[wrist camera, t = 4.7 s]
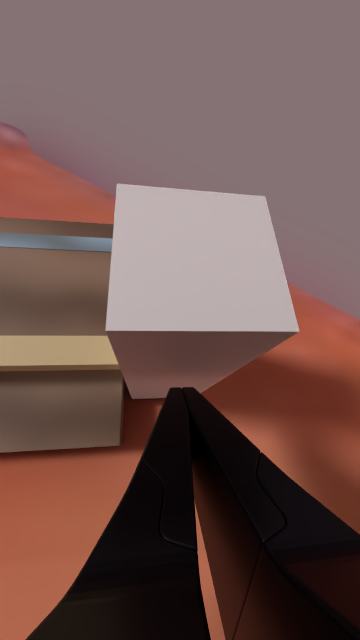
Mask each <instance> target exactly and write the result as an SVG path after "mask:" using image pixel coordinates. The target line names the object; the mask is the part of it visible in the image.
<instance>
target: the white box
mask: <svg viewBox="0 0 360 640" xmlns="http://www.w3.org/2000/svg"><path fill="white" fill-rule="evenodd" d="M105 331H106V333H107V336H0V371H57V370H118V369H121V372H122V374H123V377H124V380H125V382H126V385H127V387H128V390H129V392H130V395H131V397H132V399H148V398H166V396H167V393H168V391H169V389H170V388H171V387H181V388H183V387H194V388H195V389H196V390H197V391H198V392H199V393H202V392H203V391H205V390H206V389H208V388H210V387H211V386H213V385H214V384H216V383H218V382H219V381H221V380H222V379H224V378H226V377H227V376H229V375H230V374H232V373H234V372H235V371H237V370H238V369H240V368H242V367H243V366H245V365H246V364H248V363H250V362H251V361H253V360H255V359H256V358H258V357H259V356H261V355H263V354H264V353H266V352H267V351H269V350H271V349H272V348H274V347H275V346H277V345H279V344H280V343H282V342H283V341H285V340H287V339H288V338H290V337H291V336H293V335H295V334H296V333H298V332H299V328H298V324H297V320H296V316H295V312H294V308H293V304H292V301H291V297H290V293H289V289H288V285H287V281H286V277H285V273H284V269H283V265H282V261H281V258H280V253H279V249H278V245H277V241H276V238H275V234H274V230H273V226H272V222H271V218H270V214H269V210H268V206H267V202H266V198H265V197H264V196H253V195H242V194H230V193H219V192H207V191H196V190H184V189H171V188H161V187H150V186H138V185H126V184H117V190H116V203H115V215H114V228H113V241H112V253H111V266H110V279H109V291H108V304H107V317H106V329H105Z"/></svg>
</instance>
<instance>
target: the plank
mask: <svg viewBox="0 0 360 640" xmlns="http://www.w3.org/2000/svg"><path fill="white" fill-rule="evenodd" d="M113 228H114V225H113V224H97V223H81V222H66V221H50V220H34V219H19V218H3V217H0V336H107V333H106V331H105V329H106V317H107V304H108V291H109V279H110V266H111V253H112V241H113ZM124 392H125V380H124V377H123V374H122V372H121V369H118V370H57V371H0V453H3V452H20V451H37V450H54V449H71V448H88V447H105V446H120V445H121V444H122V440H123V416H124Z"/></svg>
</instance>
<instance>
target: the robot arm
mask: <svg viewBox="0 0 360 640" xmlns="http://www.w3.org/2000/svg"><path fill="white" fill-rule="evenodd" d="M194 500H195V503H194ZM195 504H196V508H197V513H198V517H199V522H200V526H201V531H202V535H203V540H204V544H205V549H206V553H207V558H208V562H209V567H210V571H211V576H212V580H213V585H214V589H215V594H216V598H217V602H218V607H219V611H220V616H221V620H222V625H223V629H224V634H225V638H226V640H360V534H358V533H357V532H356V531H354V530H353V529H352V528H351V527H349V526H348V525H347V524H346V523H345V522H343V521H342V520H341V519H340V518H338V517H337V516H336V515H335V514H333V513H332V512H331V511H330V510H328V509H327V508H326V507H325V506H323V505H322V504H321V503H320V502H319V501H317V500H316V499H315V498H314V497H312V496H311V495H310V494H309V493H307V492H306V491H305V490H304V489H303V488H301V487H300V486H299V485H298V484H297V483H295V482H294V481H293V480H292V479H291V478H289V477H288V476H287V475H286V474H285V473H284V472H283V471H282V470H281V469H279V468H278V467H277V466H276V465H275V464H274V463H273V462H272V461H271V460H270V459H269V458H268V457H267V456H265V455H264V454H263V453H262V452H261V453H260V450H259V449H258V448H257V447H256V446H255V445H254V444H253V443H252V442H251V441H250V440H249V439H248V438H246V437H245V436H244V435H243V434H242V433H241V432H240V431H239V430H238V429H237V428H236V427H235V426H234V425H233V424H232V423H231V422H230V421H229V420H228V419H227V418H226V417H224V416H223V415H222V414H221V413H220V412H219V411H218V410H217V409H216V408H215V407H214V406H213V405H212V404H211V403H210V402H209V401H208V400H207V399H206V398H205V397H204V396H203V395H201V394H200V393H199V392H198V391H197V390H196V389H195V388H194V387H183V388H181V387H171V388H170V389H169V391H168V393H167V396H166V398H165V401H164V403H163V405H162V408H161V410H160V413H159V415H158V417H157V420H156V422H155V425H154V427H153V430H152V432H151V434H150V437H149V439H148V442H147V444H146V447H145V449H144V451H143V454H142V456H141V459H140V461H139V463H138V466H137V468H136V470H135V473H134V475H133V477H132V479H131V482H130V484H129V486H128V488H127V490H126V492H125V494H124V496H123V498H122V500H121V501H120V503H119V505H118V507H117V509H116V511H115V513H114V514H113V516H112V518H111V519H110V521H109V523H108V525H107V526H106V528H105V530H104V532H103V533H102V535H101V537H100V539H99V540H98V542H97V544H96V546H95V547H94V549H93V551H92V553H91V554H90V556H89V558H88V560H87V561H86V563H85V565H84V566H83V568H82V570H81V571H80V573H79V575H78V576H77V578H76V579H75V581H74V583H73V584H72V586H71V587H70V589H69V590H68V591H67V593H66V594H65V596H64V597H63V598H62V600H61V601H60V602H59V603H58V605H57V606H56V607H55V608H54V609H53V610H52V611H51V613H50V614H49V615H48V616H47V617H46V618H45V619H44V620H43V621H42V622H41V623H40V624H39V626H38V627H37V628H36V629H35V630H34V631H33V632H32V633H31V634H30V635H29V636H28V637H27V639H26V640H211V639H210V633H209V628H208V623H207V618H206V612H205V607H204V602H203V597H202V591H201V584H200V575H199V565H198V554H197V550H198V549H197V534H196V519H195Z"/></svg>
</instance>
